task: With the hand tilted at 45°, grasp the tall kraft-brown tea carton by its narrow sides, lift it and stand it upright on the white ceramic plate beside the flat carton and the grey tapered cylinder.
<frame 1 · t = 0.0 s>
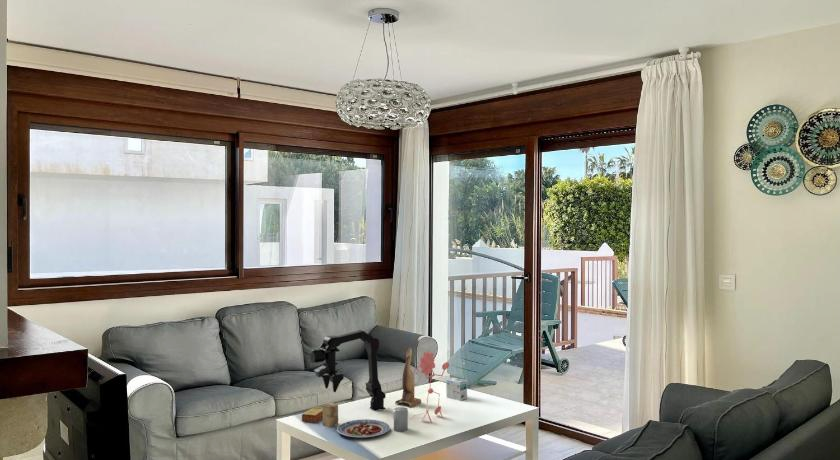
hand: (330, 390, 331), 15 cm above the table, tool pointing down, fingers open, 9 cm apart
grey tapered cylinder: (400, 429, 313), on the table
ceramic plate: (363, 432, 310), on the table
carton: (316, 418, 333), on the table
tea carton: (330, 424, 321), on the table
light bulb box: (456, 398, 367), on the table
figurine: (427, 418, 331), on the table
bird sculpture: (408, 404, 356), on the table
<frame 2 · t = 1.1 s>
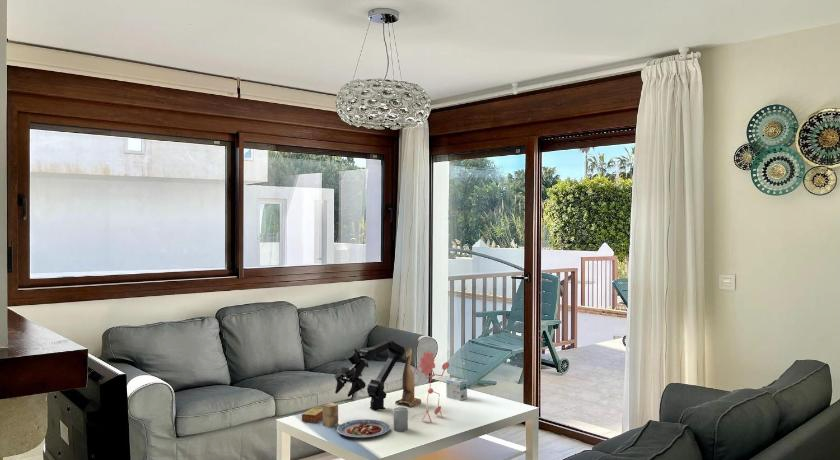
hand: (341, 394, 327), 13 cm above the table, tool tilted 45°, fingers open, 9 cm apart
nothing on the table moved.
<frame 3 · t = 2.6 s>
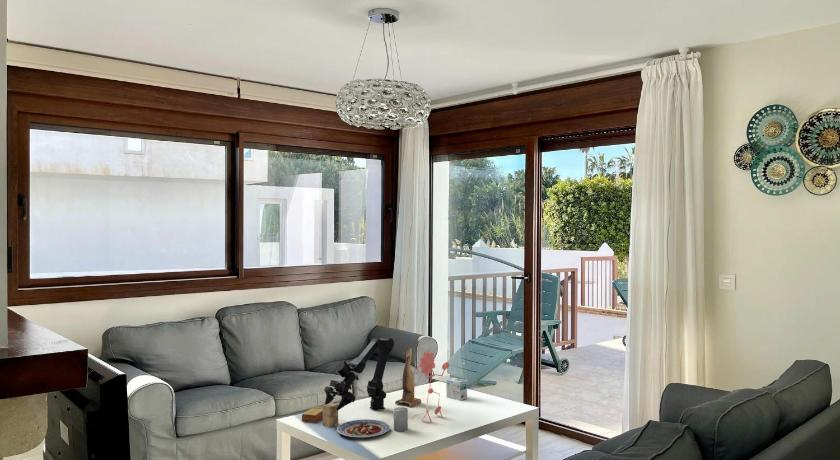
hand: (330, 408, 321), 8 cm above the table, tool tilted 45°, fingers open, 9 cm apart
nothing on the table moved.
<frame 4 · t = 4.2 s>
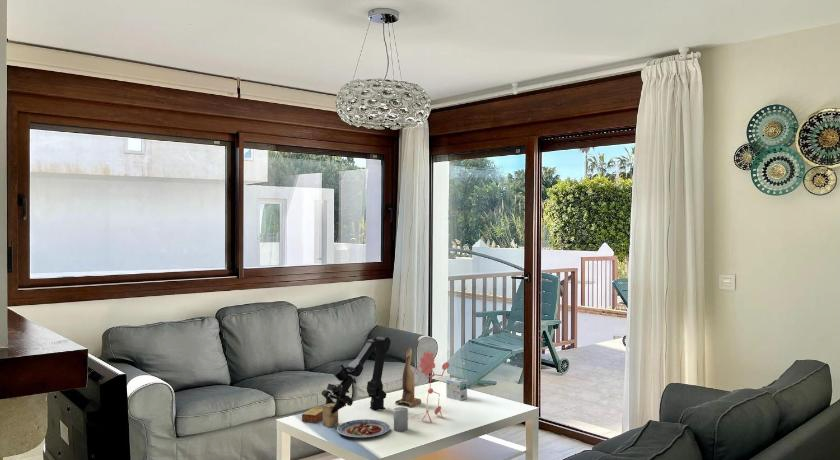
hand: (328, 412, 320), 7 cm above the table, tool tilted 45°, fingers closed on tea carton, 5 cm apart
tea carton: (330, 424, 321), on the table, touching gripper
everything else where it was.
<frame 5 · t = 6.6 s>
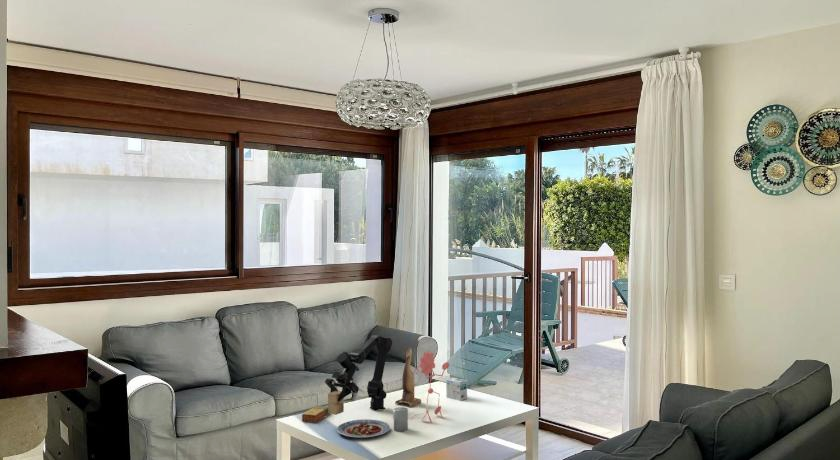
hand: (334, 400, 317), 13 cm above the table, tool tilted 45°, fingers closed on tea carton, 5 cm apart
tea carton: (335, 412, 318), point 7 cm above the table, touching gripper
everything else where it was.
when the fingers open (10 cm above the table, at t = 9.0 s): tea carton drops 1 cm, resting on ceramic plate.
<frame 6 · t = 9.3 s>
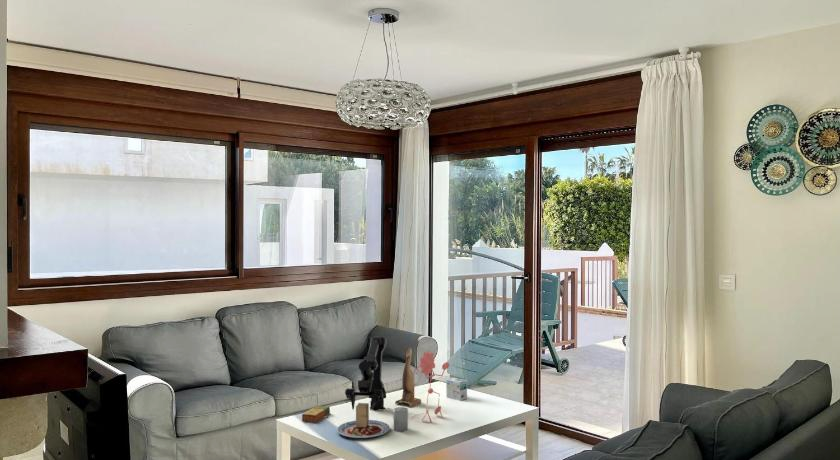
hand: (361, 409, 311), 11 cm above the table, tool tilted 45°, fingers open, 9 cm apart
ceramic plate: (363, 432, 310), on the table, touching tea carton
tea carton: (362, 425, 312), point 3 cm above the table, touching ceramic plate
everything else where it was.
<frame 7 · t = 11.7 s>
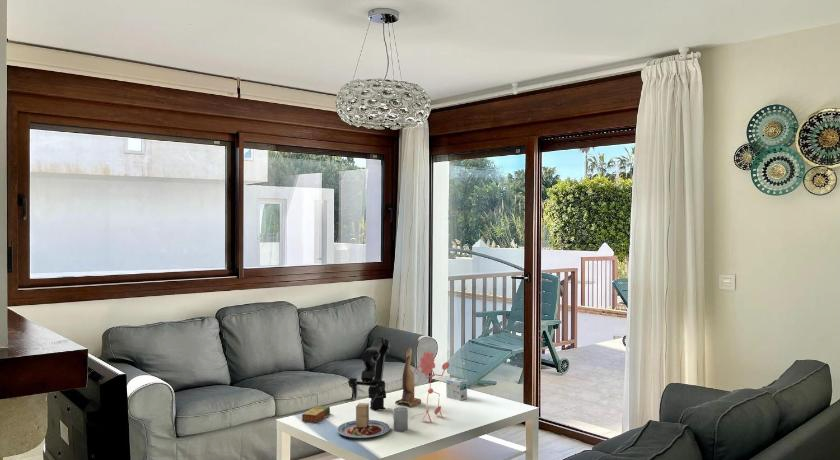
hand: (364, 399, 319), 13 cm above the table, tool tilted 40°, fingers open, 9 cm apart
nothing on the table moved.
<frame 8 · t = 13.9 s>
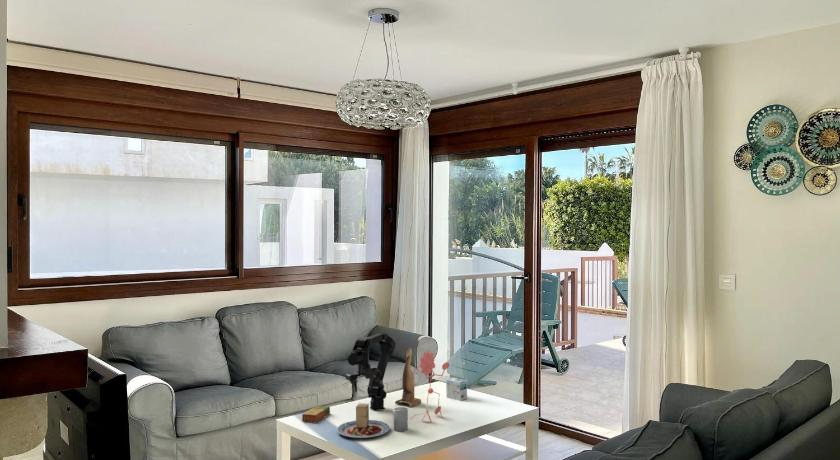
hand: (363, 391, 335), 13 cm above the table, tool pointing down, fingers open, 9 cm apart
nothing on the table moved.
at the end: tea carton 1.7 cm from the ceramic plate (horizontally); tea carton point 2.6 cm above the table; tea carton tilted 0° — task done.
